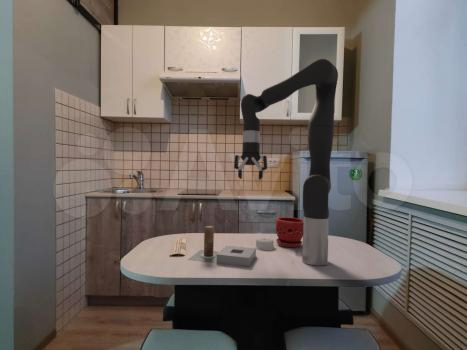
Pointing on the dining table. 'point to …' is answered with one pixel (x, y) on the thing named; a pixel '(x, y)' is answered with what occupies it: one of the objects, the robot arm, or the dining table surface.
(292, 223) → the plant pot
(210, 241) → the walnut plug
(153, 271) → the dining table surface
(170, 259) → the dining table surface
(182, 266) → the dining table surface
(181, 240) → the newspaper
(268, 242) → the mechanical component
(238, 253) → the socket board
